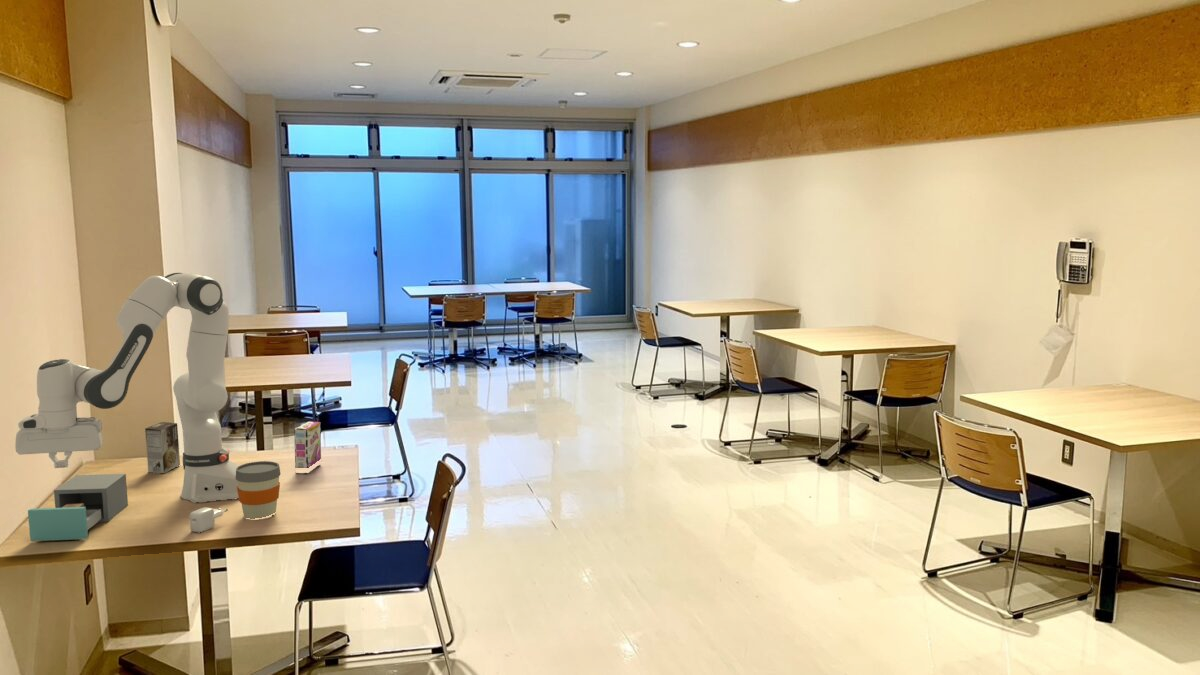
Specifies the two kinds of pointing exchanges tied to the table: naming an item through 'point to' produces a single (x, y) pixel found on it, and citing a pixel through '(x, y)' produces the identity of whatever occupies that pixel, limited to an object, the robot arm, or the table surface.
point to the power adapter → (204, 518)
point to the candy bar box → (307, 444)
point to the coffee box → (162, 447)
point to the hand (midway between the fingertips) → (61, 467)
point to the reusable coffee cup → (258, 488)
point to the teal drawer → (61, 523)
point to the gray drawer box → (95, 493)
